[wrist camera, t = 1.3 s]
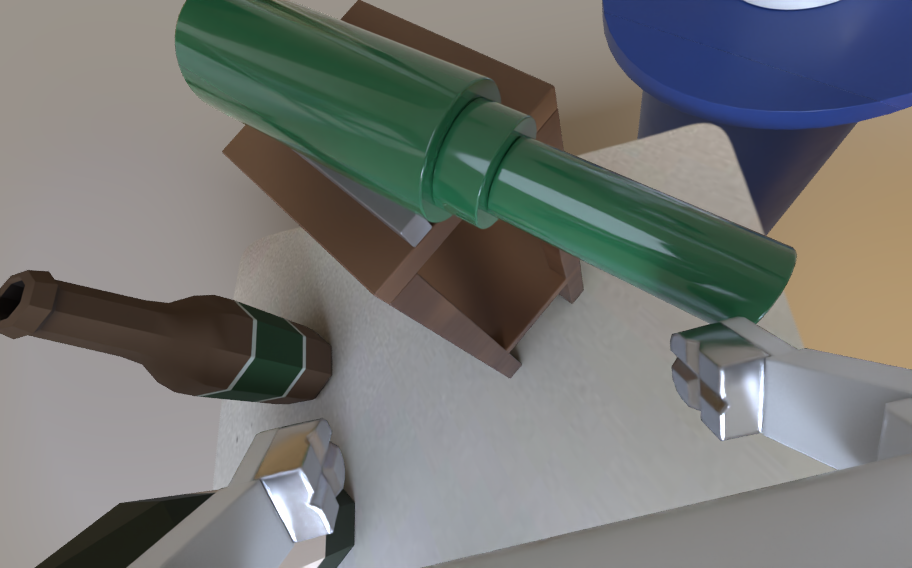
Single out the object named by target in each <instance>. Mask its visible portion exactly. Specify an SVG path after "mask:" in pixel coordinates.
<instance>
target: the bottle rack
mask: <svg viewBox="0 0 912 568" xmlns="http://www.w3.org/2000/svg"><path fill="white" fill-rule="evenodd" d="M341 20H342V21H344V22H347V23H350V24H352V25H355V26H357V27H360V28H363V29H365V30H368V31H370V32H373V33H375V34H378V35H381V36H383V37H386V38H388V39H391V40H394V41H396V42H399V43H401V44H404V45H406V46H409V47H412V48H414V49H417V50H419V51H422V52H425V53H427V54H430V55H432V56H435V57H437V58H440V59H443V60H445V61H448V62H450V63H453V64H456V65H458V66H461V67H463V68H466V69H468V70H471V71H474V72H476V73H479V74H481V75H484V76H487V77H489V78H491V79H492V80H493V81H494V82H495V83H496V84H497V86H498V88H499V91H500V95H501V104H503V105H506V106H508V107H511V108H513V109H516V110H518V111H521V112H523V113H526V114H528V115H531V116H532V117H533V118H534V119H535V121H536V126H537V134H536V139H537V140H539V141H541V142H544V143H546V144H549V145H551V146H553V147H556V148H558V149H560V150H563V151H564V149H563V141H562V134H561V128H560V120H559V113H558V109H557V101H556V94H555V87H554V86H553V85H551V84H549V83H547V82H545V81H542V80H540V79H538V78H536V77H533V76H531V75H528V74H526V73H524V72H522V71H520V70H517V69H515V68H513V67H511V66H508V65H506V64H504V63H501V62H499V61H497V60H495V59H493V58H490V57H488V56H486V55H483V54H481V53H479V52H477V51H474V50H472V49H470V48H468V47H465V46H463V45H461V44H459V43H456V42H454V41H452V40H449V39H447V38H445V37H443V36H440V35H438V34H436V33H434V32H431V31H429V30H427V29H425V28H422V27H420V26H418V25H416V24H413V23H411V22H409V21H406V20H404V19H402V18H399V17H397V16H395V15H393V14H391V13H388V12H386V11H384V10H382V9H379V8H377V7H374V6H373V5H370V4H368V3H366V2H363V1H361V0H358V1H357V2H356V3H355V4H354V5H353V6H352V7H351V8H350V10H349V11H348V12H347V13H346V14H345V15H344V16H343V17H342V19H341ZM222 152H223V154H224V155H225V156H226V157H228V158H229V159H230V160H231V161H232V162H233V163H234V164H235V165H236V166H237V167H238V168H239V169H240V170H241V171H242V172H243V173H245V174H246V175H247V176H248V177H249V178H250V179H251V180H252V181H253V182H254V183H255V184H256V185H257V186H258V187H259V188H260V189H262V190H263V191H264V192H265V193H266V194H267V195H268V196H269V197H270V198H271V199H272V200H273V201H274V202H276V204H278V205H279V206H280V207H281V208H282V209H283V210H284V211H285V212H286V213H287V214H288V215H289V216H290V217H291V218H292V219H294V221H295V222H297V223H298V224H299V225H300V226H301V227H302V228H303V229H304V230H305V231H306V232H307V233H308V234H309V235H310V236H311V237H312V238H314V239H315V240H316V241H317V242H318V243H319V244H320V245H321V246H322V247H323V248H324V249H325V250H326V251H327V252H328V253H329V254H331V255H332V256H333V257H334V258H335V259H336V260H337V261H338V262H339V263H340V264H341V265H342V266H343V267H344V268H345V269H346V270H348V271H349V272H350V273H351V274H352V275H353V276H354V277H355V278H356V279H357V280H358V281H359V282H360V283H361V284H362V285H363V286H365V287H366V288H367V289H368V290H369V291H370V292H371V293H372V294H373V295H374V296H376V297H377V298H379V299H381V300H382V301H384V302H386V303H387V304H389V305H390V306H392V307H394V308H395V309H397V310H399V311H400V312H402V313H404V314H405V315H407V316H408V317H410V318H412V319H413V320H415V321H417V322H418V323H420V324H422V325H423V326H425V327H426V328H428V329H430V330H431V331H433V332H435V333H436V334H438V335H440V336H441V337H443V338H444V339H446V340H448V341H449V342H451V343H453V344H454V345H456V346H458V347H459V348H461V349H462V350H464V351H466V352H467V353H469V354H471V355H472V356H474V357H476V358H477V359H479V360H480V361H482V362H484V363H485V364H487V365H489V366H490V367H492V368H494V369H495V370H497V371H498V372H500V373H502V374H503V375H505V376H507V377H508V378H511V377H512V376H513V375H514V374H515V372H516V371H517V370H518V369H519V367H520V366H521V365H522V364H521V363H520V362H519V361H518V360H516V359H515V358H514V357H513V356H512V355H511V354H510V351H511V350H512V349H513V348H514V347H515V345H516V344H517V343H518V342H519V341H520V339H521V338H522V337H523V336H524V335H525V333H526V332H527V331H528V330H529V329H530V327H531V326H532V325H533V324H534V323H535V321H536V320H537V319H538V318H539V317H540V315H541V314H542V313H543V312H544V311H545V309H546V308H547V307H548V306H549V305H550V303H551V302H552V301H553V300H554V298H555V297H556V296H557V295H558V294H559V295H561V296H562V297H563V298H565V299H566V300H568V301H569V302H570V303H573V302H574V301H575V300H576V299H577V298H578V296H579V295H580V294H581V293H582V291H583V290H584V289H583V282H582V275H581V268H580V261H579V259H578V258H576V257H574V256H572V255H570V254H568V253H566V252H564V251H562V250H560V249H558V248H556V247H554V246H552V245H550V244H548V243H546V242H544V241H542V240H540V239H538V238H536V237H534V236H532V235H530V234H528V233H526V232H524V231H522V230H520V229H518V228H516V227H514V226H512V225H510V224H508V223H506V222H504V221H502V220H500V219H498V220H497V221H496V222H495V223H494V224H493V225H492V226H490V227H488V228H486V229H479V228H477V227H475V226H473V225H471V224H469V223H467V222H465V221H464V220H462V219H460V218H458V217H456V216H454V215H452V216H451V217H450V218H448V219H446V220H445V221H442V222H438V223H433V222H429V221H427V220H425V219H423V218H422V217H420V216H418V215H416V214H414V213H412V212H410V211H408V210H406V209H405V208H403V207H401V206H399V205H397V204H395V203H393V202H391V201H389V200H387V199H386V198H384V197H382V196H380V195H378V194H376V193H374V192H372V191H370V190H369V189H367V188H365V187H363V186H361V185H359V184H357V183H355V182H353V181H351V180H350V179H348V178H346V177H344V176H342V175H340V174H338V173H336V172H334V171H332V170H331V169H329V168H327V167H325V166H323V165H321V164H319V163H317V162H315V161H314V160H312V159H310V158H308V157H306V156H304V155H302V154H300V153H298V152H296V151H295V150H293V149H291V148H289V147H287V146H285V145H283V144H281V143H279V142H277V141H276V140H274V139H272V138H270V137H268V136H266V135H264V134H262V133H260V132H259V131H257V130H255V129H253V128H251V127H249V126H247V125H245V126H244V127H243V129H242V130H241V131H240V132H239V133H238V134H237V135H236V136H235V137H234V139H233V140H232V141H231V142H230V143H229V144H228V145H227V146H226V147H225V149H224V150H223V151H222Z"/></svg>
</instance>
